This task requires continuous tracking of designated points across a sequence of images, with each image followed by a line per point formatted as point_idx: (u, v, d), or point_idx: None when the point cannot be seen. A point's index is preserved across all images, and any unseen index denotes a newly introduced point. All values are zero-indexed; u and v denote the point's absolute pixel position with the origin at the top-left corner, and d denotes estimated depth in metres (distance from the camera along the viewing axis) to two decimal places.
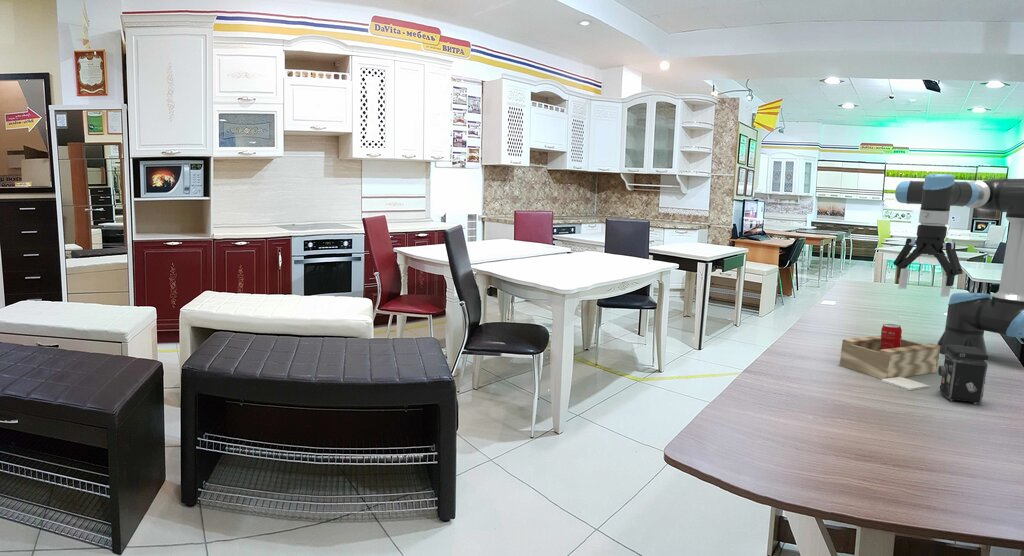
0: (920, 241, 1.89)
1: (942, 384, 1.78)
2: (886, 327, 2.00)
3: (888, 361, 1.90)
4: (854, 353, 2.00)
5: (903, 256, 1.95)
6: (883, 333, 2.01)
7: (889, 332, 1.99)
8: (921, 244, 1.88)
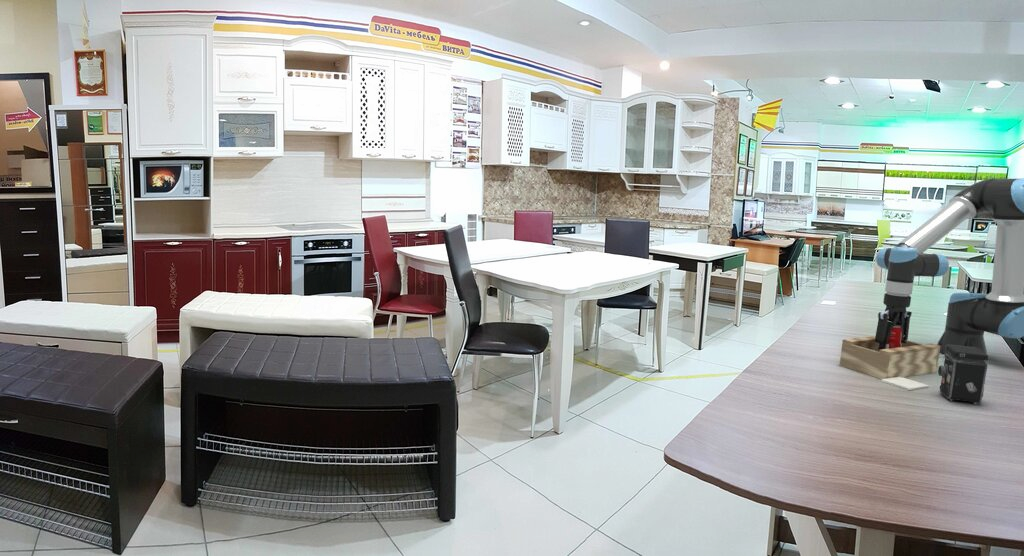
0: None
1: (942, 384, 1.78)
2: None
3: (888, 361, 1.90)
4: (854, 353, 2.00)
5: None
6: None
7: None
8: None
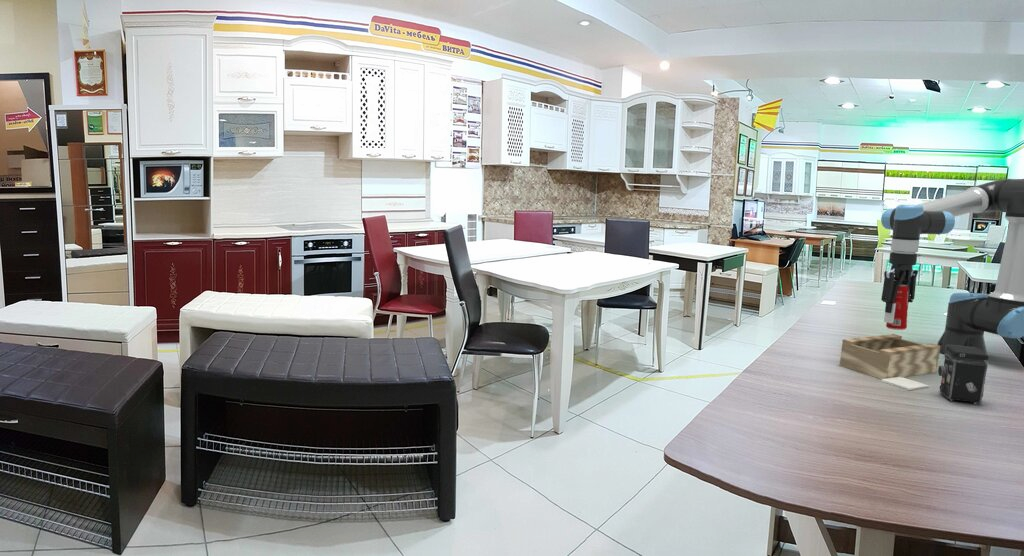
0: None
1: (942, 384, 1.78)
2: None
3: (888, 361, 1.90)
4: (854, 353, 2.00)
5: None
6: None
7: None
8: None
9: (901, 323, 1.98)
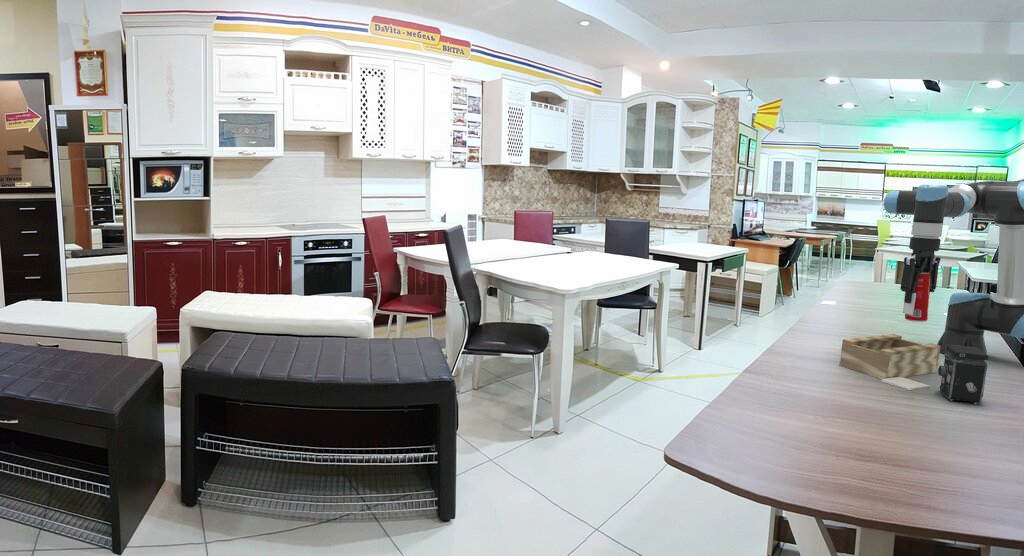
0: None
1: (942, 384, 1.78)
2: None
3: (888, 361, 1.90)
4: (854, 353, 2.00)
5: None
6: None
7: None
8: None
9: (922, 314, 1.81)
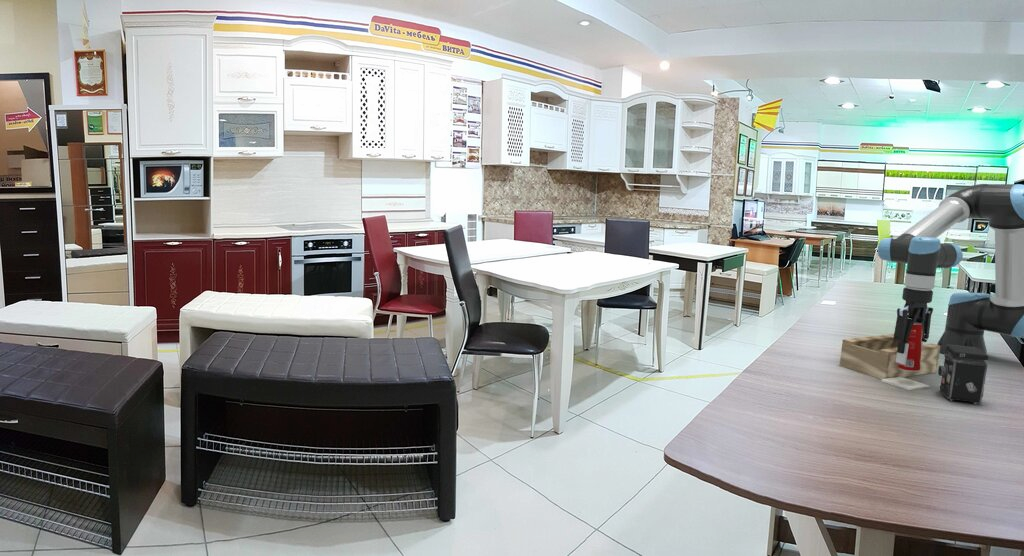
0: None
1: (942, 384, 1.78)
2: None
3: (888, 361, 1.90)
4: (854, 353, 2.00)
5: None
6: None
7: None
8: None
9: (914, 364, 1.83)
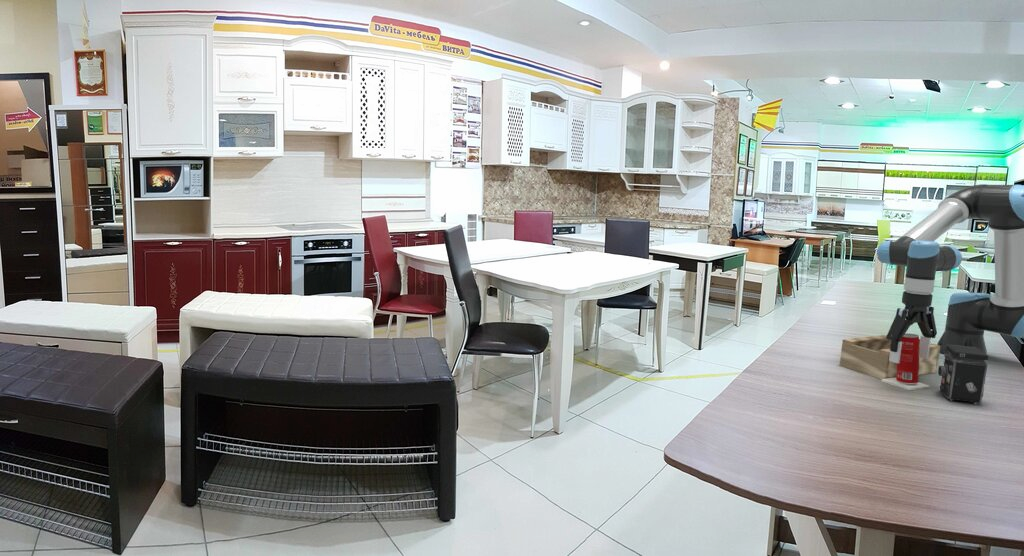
0: None
1: (942, 384, 1.78)
2: (903, 337, 1.84)
3: (888, 361, 1.90)
4: (854, 353, 2.00)
5: (927, 324, 1.88)
6: None
7: (906, 342, 1.83)
8: None
9: (913, 377, 1.84)
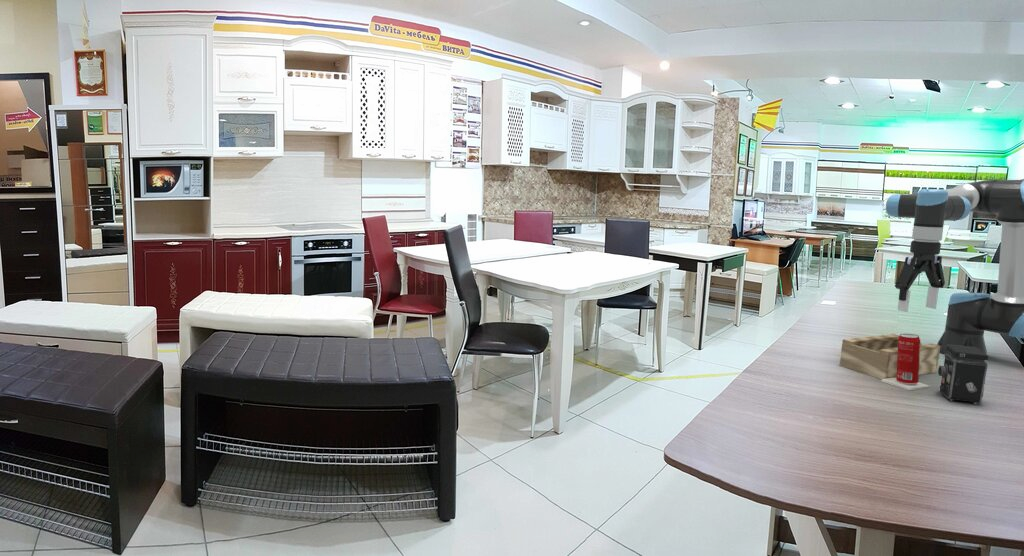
0: None
1: (942, 384, 1.78)
2: (903, 337, 1.84)
3: (888, 361, 1.90)
4: (854, 353, 2.00)
5: None
6: (900, 344, 1.85)
7: (906, 343, 1.83)
8: None
9: (913, 377, 1.84)
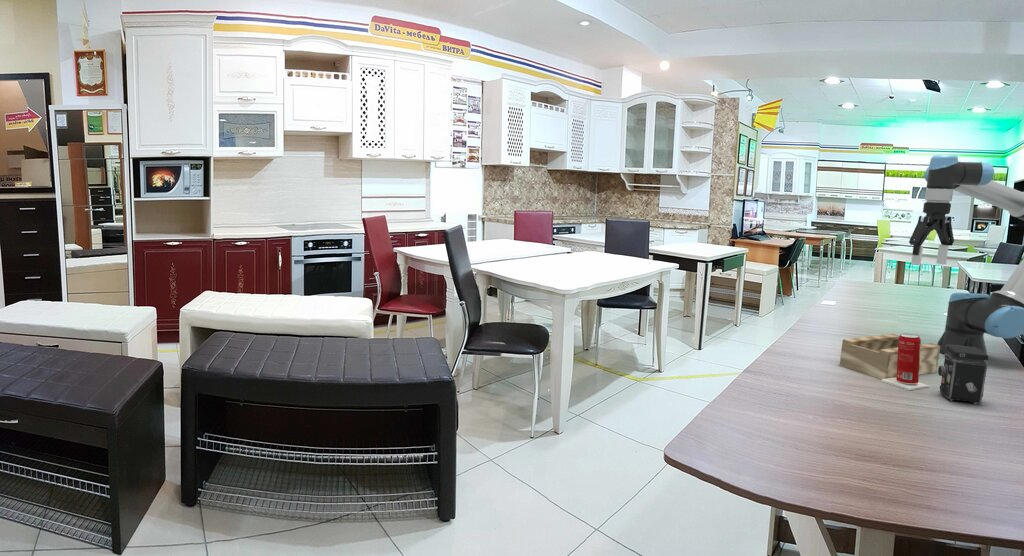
0: None
1: (942, 384, 1.78)
2: (904, 337, 1.84)
3: (888, 361, 1.90)
4: (854, 353, 2.00)
5: None
6: (900, 344, 1.85)
7: (907, 342, 1.83)
8: None
9: (913, 377, 1.84)
